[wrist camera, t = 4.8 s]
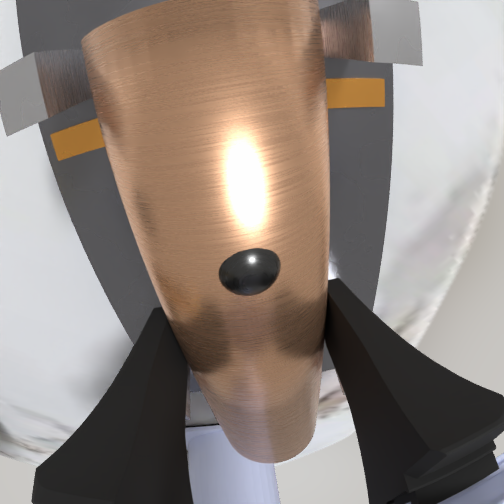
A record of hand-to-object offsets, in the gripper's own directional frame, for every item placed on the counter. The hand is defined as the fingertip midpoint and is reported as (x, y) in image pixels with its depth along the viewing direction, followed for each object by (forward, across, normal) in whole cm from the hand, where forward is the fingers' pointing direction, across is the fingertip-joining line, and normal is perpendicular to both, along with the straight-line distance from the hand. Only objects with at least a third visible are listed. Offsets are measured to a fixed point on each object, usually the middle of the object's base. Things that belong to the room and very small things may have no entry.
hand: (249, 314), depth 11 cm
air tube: (+2, 0, 0) cm, 2 cm away
